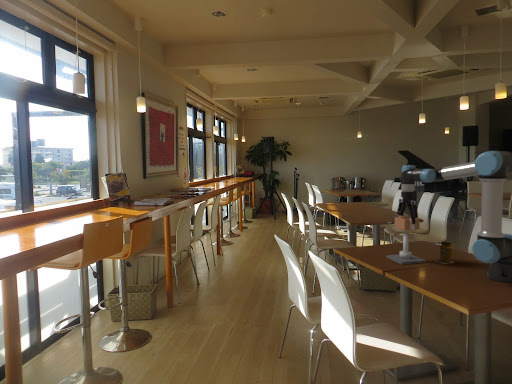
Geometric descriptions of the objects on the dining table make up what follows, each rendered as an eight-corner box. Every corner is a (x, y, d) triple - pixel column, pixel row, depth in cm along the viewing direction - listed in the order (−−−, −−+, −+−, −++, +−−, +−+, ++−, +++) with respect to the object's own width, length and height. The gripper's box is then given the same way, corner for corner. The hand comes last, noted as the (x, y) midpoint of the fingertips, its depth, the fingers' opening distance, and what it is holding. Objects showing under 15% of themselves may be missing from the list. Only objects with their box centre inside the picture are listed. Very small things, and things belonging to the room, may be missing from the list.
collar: (419, 229, 222) (419, 219, 222) (404, 229, 220) (404, 219, 219) (409, 226, 232) (409, 216, 231) (394, 226, 230) (394, 217, 229)
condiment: (454, 262, 222) (455, 242, 221) (444, 264, 218) (445, 244, 218) (443, 259, 229) (444, 240, 228) (434, 261, 225) (434, 241, 224)
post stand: (425, 262, 222) (426, 236, 221) (401, 264, 219) (402, 237, 217) (409, 256, 238) (409, 231, 236) (386, 257, 234) (386, 232, 233)
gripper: (425, 192, 214) (424, 230, 216) (402, 189, 236) (401, 224, 238) (414, 192, 212) (413, 231, 214) (391, 189, 234) (390, 224, 236)
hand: (406, 227), depth 226 cm, fingers closed on collar, 10 cm apart
